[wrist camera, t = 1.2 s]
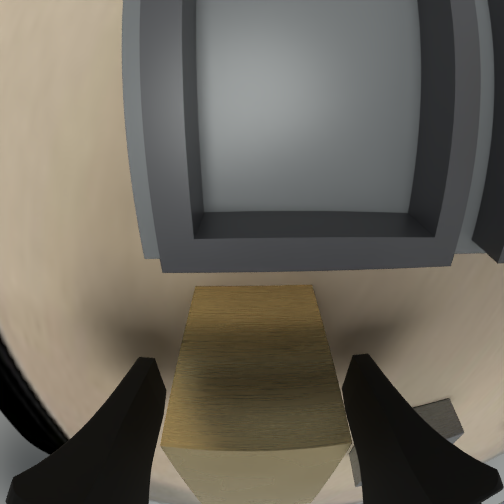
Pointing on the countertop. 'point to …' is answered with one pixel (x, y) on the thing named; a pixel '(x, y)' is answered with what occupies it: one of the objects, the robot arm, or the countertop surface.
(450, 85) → the tray
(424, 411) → the button housing
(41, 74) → the countertop surface
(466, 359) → the countertop surface
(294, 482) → the block
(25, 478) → the robot arm
